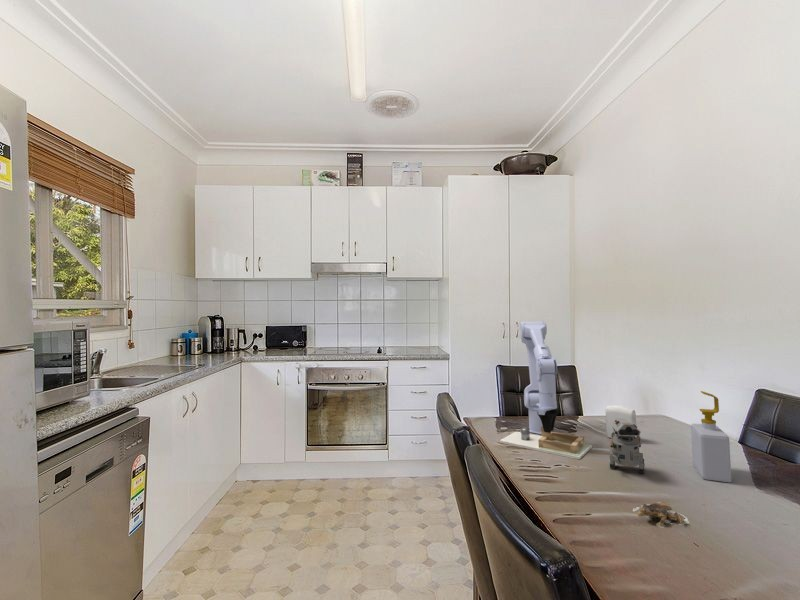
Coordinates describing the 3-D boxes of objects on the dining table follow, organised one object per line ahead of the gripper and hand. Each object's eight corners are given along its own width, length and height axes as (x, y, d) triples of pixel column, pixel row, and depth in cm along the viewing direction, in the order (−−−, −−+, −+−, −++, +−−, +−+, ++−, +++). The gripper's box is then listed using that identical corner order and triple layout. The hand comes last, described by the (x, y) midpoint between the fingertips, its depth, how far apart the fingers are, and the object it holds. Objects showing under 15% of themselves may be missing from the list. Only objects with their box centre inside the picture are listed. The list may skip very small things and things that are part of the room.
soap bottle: (692, 464, 122) (688, 387, 123) (719, 467, 119) (715, 388, 120) (702, 479, 111) (698, 395, 112) (732, 483, 108) (728, 397, 109)
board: (515, 433, 157) (515, 431, 157) (591, 447, 139) (591, 445, 139) (499, 442, 146) (499, 440, 146) (579, 459, 128) (579, 456, 128)
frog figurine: (669, 538, 84) (668, 520, 84) (619, 512, 95) (619, 496, 95) (705, 526, 88) (704, 509, 88) (653, 503, 99) (652, 487, 99)
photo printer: (604, 437, 149) (603, 404, 150) (609, 435, 152) (608, 402, 153) (634, 444, 141) (632, 408, 142) (639, 441, 144) (637, 406, 145)
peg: (523, 437, 149) (523, 426, 149) (531, 439, 147) (530, 428, 147) (520, 439, 147) (519, 428, 147) (527, 441, 145) (527, 430, 145)
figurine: (608, 476, 115) (606, 423, 115) (610, 462, 125) (608, 414, 125) (645, 482, 110) (643, 427, 111) (644, 468, 120) (642, 417, 120)
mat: (552, 438, 147) (552, 438, 147) (589, 445, 139) (589, 444, 139) (538, 448, 137) (538, 447, 137) (578, 456, 129) (578, 455, 129)
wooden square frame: (547, 437, 148) (546, 422, 148) (584, 443, 140) (583, 428, 140) (536, 446, 138) (535, 430, 138) (575, 453, 130) (574, 436, 130)
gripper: (542, 388, 150) (544, 424, 150) (529, 395, 139) (530, 434, 138) (562, 390, 146) (563, 427, 145) (549, 397, 134) (551, 437, 134)
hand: (548, 431), depth 141 cm, fingers closed
